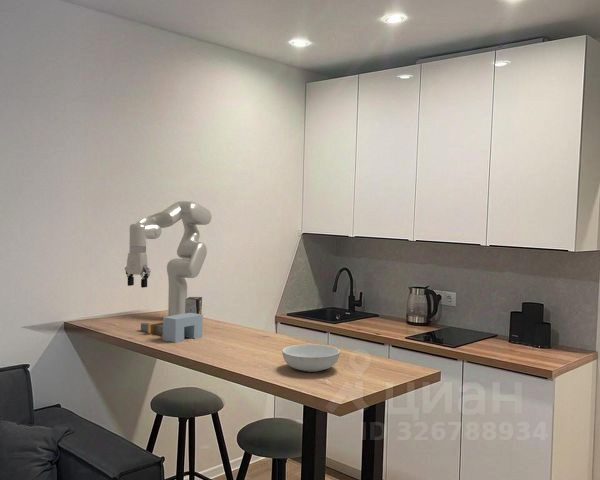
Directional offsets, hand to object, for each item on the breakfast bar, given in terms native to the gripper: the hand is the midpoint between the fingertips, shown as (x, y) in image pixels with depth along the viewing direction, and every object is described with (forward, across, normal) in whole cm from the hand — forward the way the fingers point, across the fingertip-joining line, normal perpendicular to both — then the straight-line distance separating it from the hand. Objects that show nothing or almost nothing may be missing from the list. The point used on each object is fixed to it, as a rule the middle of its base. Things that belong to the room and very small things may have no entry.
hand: (137, 286), depth 277 cm
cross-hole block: (+20, +31, 0) cm, 37 cm away
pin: (+20, +17, 0) cm, 26 cm away
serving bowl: (+21, +103, -6) cm, 105 cm away
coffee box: (+21, +25, +12) cm, 35 cm away
